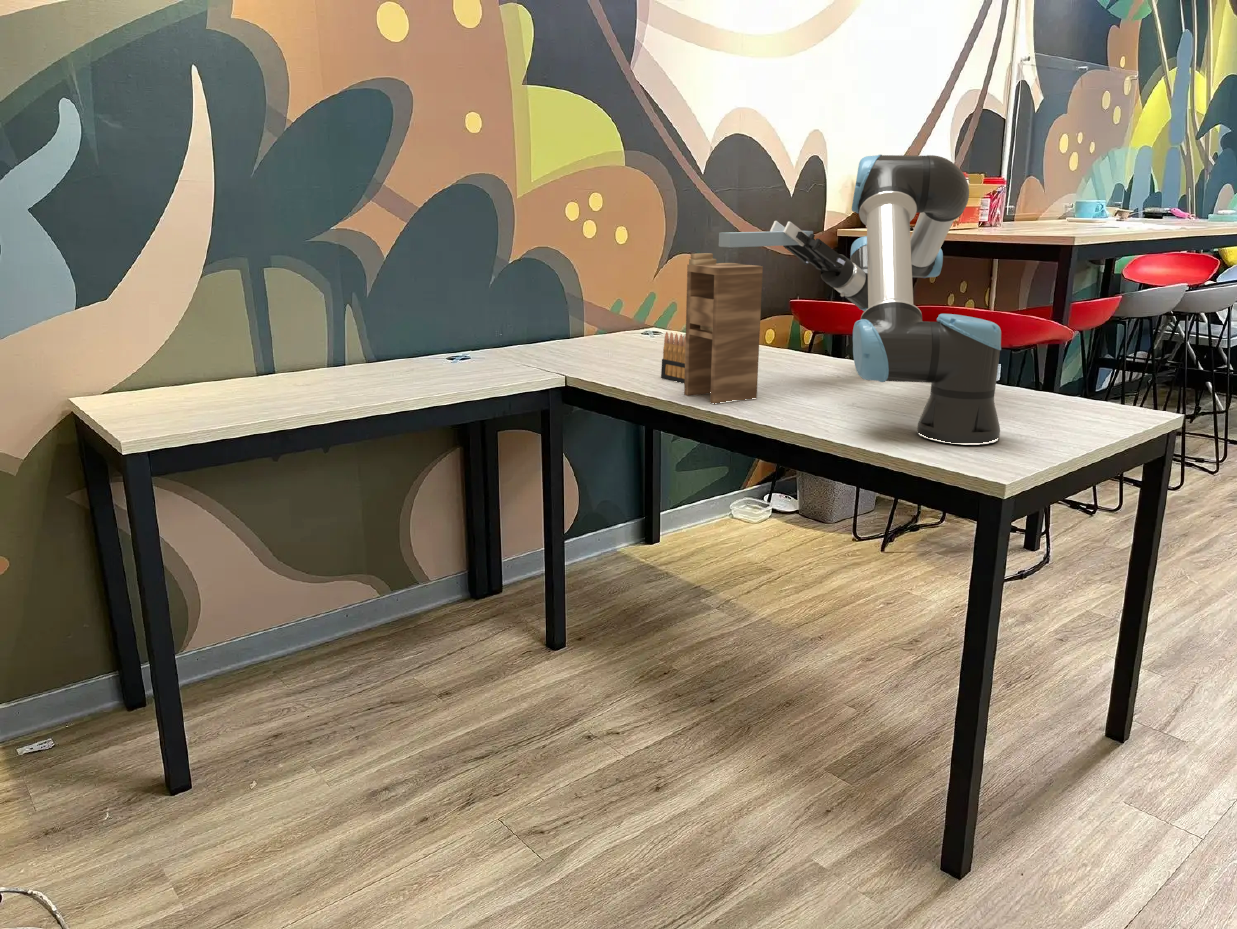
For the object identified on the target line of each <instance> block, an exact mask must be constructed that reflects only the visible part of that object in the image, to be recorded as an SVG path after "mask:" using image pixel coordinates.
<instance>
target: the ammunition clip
mask: <svg viewBox="0 0 1237 929" xmlns="http://www.w3.org/2000/svg"><path fill="white" fill-rule="evenodd" d="M684 335H685V334H684ZM685 342H686V335H685V338H684V344H683V334H680V335H678V333H677V332H675V335H674V334H673V332H670V335H669V333H668V331H666V332H665V335H664V341H663V348H662V349H663V352H662V354H663V355H662V358H661V369H660V370H661V372H660V373H661V374H660V379H661V378H662V380H666V381H671V382H674V381H677V382H676V383H679V382H681V383H680V384H683V383H684V384H685Z"/></svg>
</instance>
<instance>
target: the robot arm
mask: <svg viewBox="0 0 1237 929" xmlns="http://www.w3.org/2000/svg"><path fill="white" fill-rule="evenodd" d="M855 180H856V181H855V186H854V192H853V198H852V204H851V211H852V212H853V213H856V214H858V216H859V220H860V221H861V222H862V224H863V225H865V227H866V235H865V236H861V237H859V238H857V239H855V240H854V241H853V242H852V244H851V246H850V258H848V257H846V256H845V255H844V254H840V253H838V252H837V251H836V250H835V249H833V248H832V247H830V246H829V245H828V244H827V243H825V242H824V241H823V240H821V239H820V238H815V236H816V235H815V234H814V233H813V234H810V236H809V237H808V235H807V234H806V233H804V232H803V231H804V230H802V229H800V228H799V227H798V226H797V225H796V224H794V223H793V222H792V221H787V222H786V225H785V226H784V225H783V224H781V223H780V222H779V221H778V220H774V221H773V224H772V225H771V228H770V230H769V232H771V231H783V232H784V233H785V234H786V235H787V236H789V237H790V238H791V239H793V240H794V241H795V242H796V243H798V244H799V245H785V246H782V247H783V248H784V249H786V250H787V251H789V253H791V254H792V255H793V256H794V257H796V258H797V259H799V261H801V262H802V263H803V265H805V266H808V265H809V264H810V265H812V266H813V267H814V268H815V269H816V270H818V271H820V278H821V279H822V281H823V282H825V283H826V284H827V285H828V286H830V287H831V288H833V289H834V290H836V291H837V292H838V293H839V294H840V295H839V296H840V297H841V298H843V297H845V299H846V300H848V301H849V302H851V303H852V304H853V305H855V306H856V307H857V308H858V310H862V311H863V312H862V314H861V316H860V319H859V320H856V321H855V322H854V325H853V329H852V355H853V356H852V357H853V361H854V366H855V371H856V373H857V375H858V376H859V377H860V378H862V380H865V381H873V382H879V383H886V382H897V383H898V382H899V383H902V382H903V383H925V384H926V383H929V384H931V386H930V393H929V394H930V395H929V397H928V399H927V402H926V404H925V407H924V408H923V411H922V412H921V415H920V417H919V419H918V422H917V430H916V432H917V431H918V433H920V434H922V435H924V436H926V437H928V438H933V439H937V440H941V441H945V442H951V443H983V442H989V441H992V440H995V439H997V438H999V439H1000V435H1001V428H1000V423H999V422H1000V421H999V417H998V413H997V408H996V404H995V394H996V386H997V376H998V368H999V360H1000V354H1001V353H1000V352H1001V351H1002V330H1001V327H1000V326H999V325H998V324H997V323H995V322H993V321H991V320H986V319H983V318H978V317H973V316H967V315H962V314H955V313H954V314H952V313H940V314H938V317H937V318H936V321H923V314H922V311H921V310H920V308H919V307H918V306H916V305H915V304H914V290H913V278H921V279H926V278H936V277H938V276H940V274H941V271H942V268H943V262H944V253H943V250H942V248H941V247H942V245H943V244H944V242H945V240H946V239H947V236H948V234H949V231H950V229H951V227H952V225H953V223H954V222H955V220H957V219H958V218H959V217H961V215H963V213H964V211H965V209H966V208H967V205H968V203H969V200H970V199H969V198H970V187H969V183H968V180H967V178H966V176H965V174H964V173H963V171H962V169H961V168H959V166H958V165H956V164H955V163H954V162H953V161H951V160H950V159H948V158H945V157H942V156H939V155H933V154H932V155H931V154H927V155H906V154H904V155H903V154H902V155H900V154H899V155H893V154H892V155H885V154H884V155H883V154H878V155H866V156H864V157H862V158H861V159H860V161H859V162H858V168H857V174H856V179H855ZM917 213H918V214H919V215H918V217H917V221H916V223H915V226H914V228H913V230H912V232H911V224H910V223H911V222H912V220H913V219H914V218H915V217H916V214H917ZM804 244H805V245H804Z"/></svg>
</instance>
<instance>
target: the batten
mask: <svg viewBox="0 0 1237 929" xmlns="http://www.w3.org/2000/svg"><path fill="white" fill-rule="evenodd" d="M802 231H803V232H804V233H806V234H807V235H808V237H809V236H810V234H814V231H813V230H802ZM785 245H799V244H798V243H796V242H795V241H794V240H793V239H791V238H790V237H789V236H787V235H786V234H785V233H784V232H783V231H771V232H770V231H741V232H739V231H738V232H736V231H735V232H734V231H733V232H718V247H721V248H746V247H747V248H748V247H749V248H750V247H776V246H777V247H778V246H779V247H781V246H782V247H783V246H785ZM804 245H805V244H804Z"/></svg>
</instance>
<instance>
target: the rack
mask: <svg viewBox="0 0 1237 929" xmlns="http://www.w3.org/2000/svg"><path fill="white" fill-rule="evenodd" d="M763 268H764V266H763V265H762V266H761V265H756V264H755V265H754V264H753V265H752V264H744V263H735V262H719V263H717V258H714V254H713V253H710V252H709V253H708V252H706V253H704V252H703V253H702V252H701V253H700V252H699V253H690V259H688V264H687V269H686V271H687V273H686V307H685V308H686V309H685V310H686V311H685V315H686V316H685V334H686V342H685V384H684V385H683V386H684V387H683V388H684V390H683V391H684V392H683V393H684V394H683V395H685V396H687V397H690V396H700V395H705V394H706V393H708V394H710V396H709V397H710V399H709V400H710V401H709V403H710V402H711V403H714V404H713V405H716V404H715V403H720V402H726V401H732V400H745V399H752V398H757V396H758V380H759V379H758V377H759V376H758V375H759V374H758V373H759V356H760V355H759V353H760V337H761V336H760V334H761V312H762V290H763V271H764V270H763ZM710 392H711V393H710ZM757 399H758V398H757ZM745 401H746V400H745ZM711 403H710V404H711Z"/></svg>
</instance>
